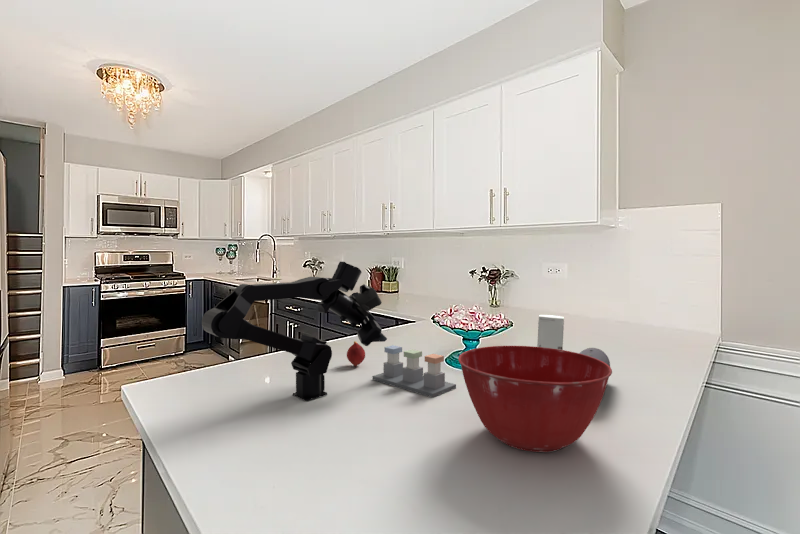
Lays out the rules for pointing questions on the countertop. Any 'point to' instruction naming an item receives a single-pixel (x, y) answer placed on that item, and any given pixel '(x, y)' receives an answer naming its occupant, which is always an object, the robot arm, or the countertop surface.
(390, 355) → the key
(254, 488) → the countertop surface
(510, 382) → the mixing bowl
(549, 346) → the skincare box
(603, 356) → the bluetooth speaker
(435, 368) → the key
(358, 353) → the onion
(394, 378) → the key console
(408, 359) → the key
